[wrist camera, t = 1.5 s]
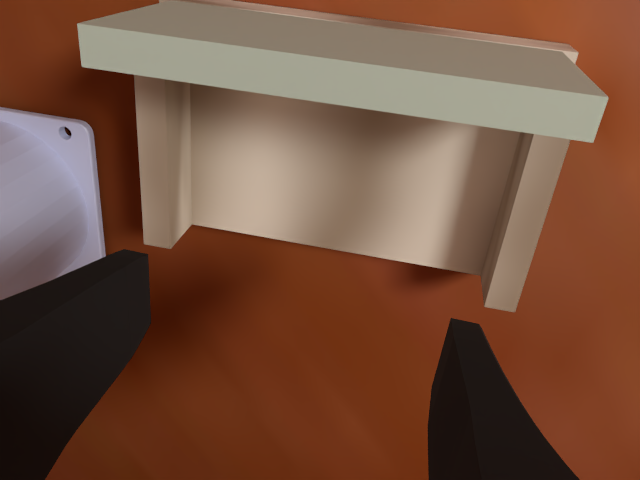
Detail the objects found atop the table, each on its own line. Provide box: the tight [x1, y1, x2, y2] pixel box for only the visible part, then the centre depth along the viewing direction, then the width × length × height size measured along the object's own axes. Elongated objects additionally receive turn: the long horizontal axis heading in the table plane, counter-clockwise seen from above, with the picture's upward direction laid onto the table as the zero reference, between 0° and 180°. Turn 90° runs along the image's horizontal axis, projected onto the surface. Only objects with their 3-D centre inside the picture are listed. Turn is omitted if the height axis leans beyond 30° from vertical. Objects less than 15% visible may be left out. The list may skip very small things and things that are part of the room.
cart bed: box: [134, 0, 578, 312], centre depth 19 cm, size 13×8×4 cm, turn 85°
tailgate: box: [77, 0, 609, 143], centre depth 15 cm, size 12×1×5 cm, turn 85°
